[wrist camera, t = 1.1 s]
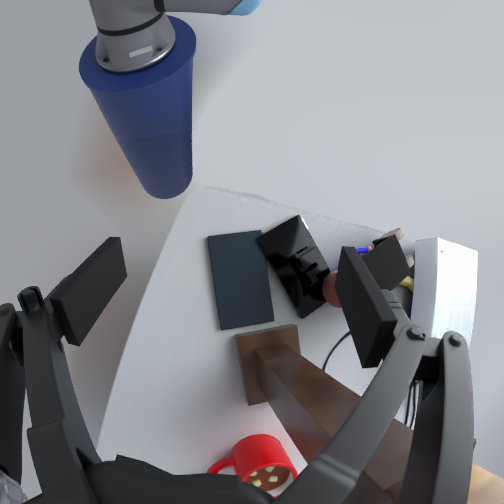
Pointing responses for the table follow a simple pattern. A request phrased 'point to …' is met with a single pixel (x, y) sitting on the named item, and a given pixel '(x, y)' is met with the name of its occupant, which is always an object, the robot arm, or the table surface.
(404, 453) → the stand
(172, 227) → the table surface
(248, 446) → the mug
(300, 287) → the black angular block
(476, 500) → the wooden toy mallet
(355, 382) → the table surface
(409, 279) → the banana
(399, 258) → the figurine character
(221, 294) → the mat
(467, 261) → the skincare box
